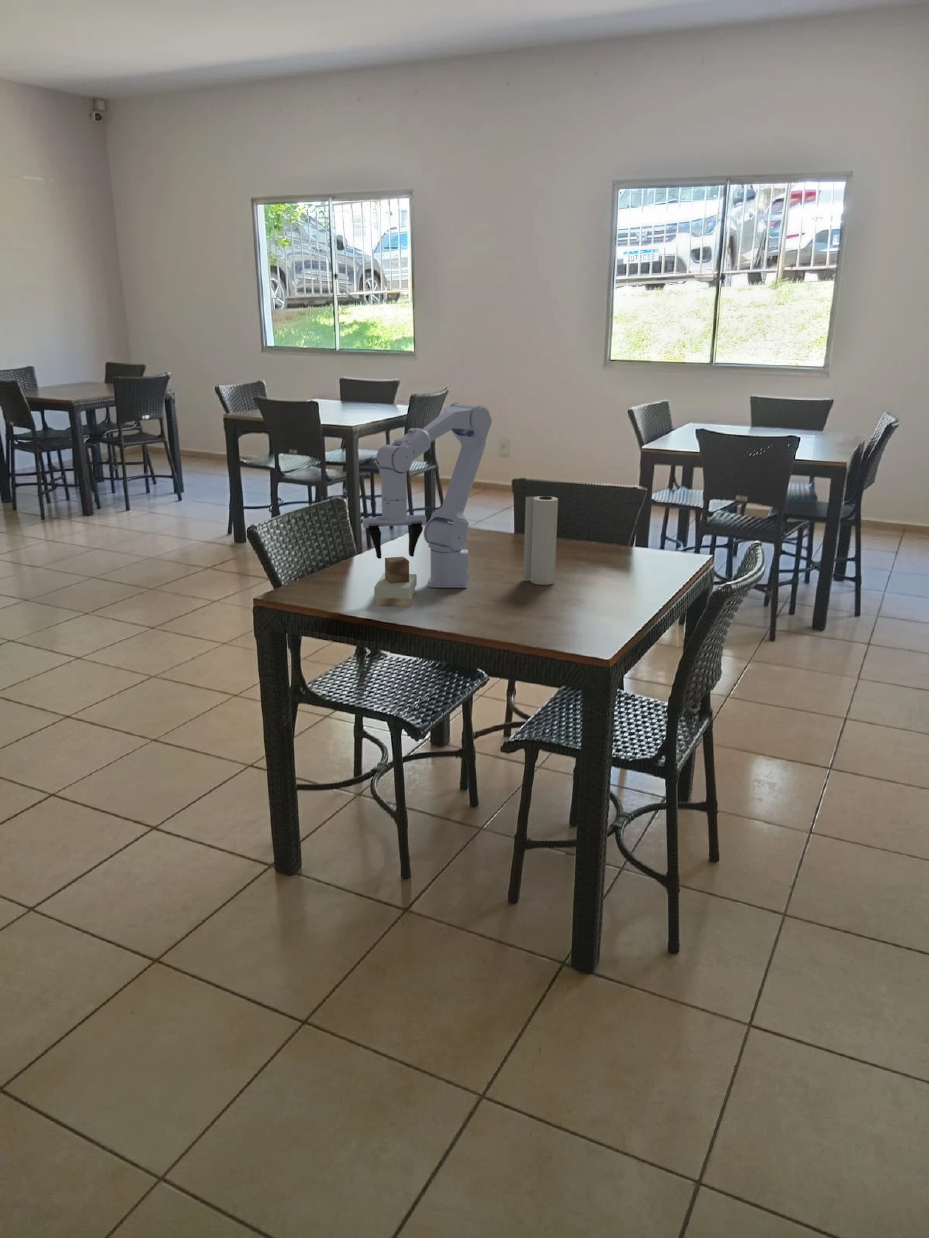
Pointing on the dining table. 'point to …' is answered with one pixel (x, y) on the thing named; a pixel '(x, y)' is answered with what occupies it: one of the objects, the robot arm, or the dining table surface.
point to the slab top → (395, 588)
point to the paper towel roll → (540, 539)
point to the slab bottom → (395, 601)
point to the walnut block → (396, 570)
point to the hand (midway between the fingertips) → (395, 556)
